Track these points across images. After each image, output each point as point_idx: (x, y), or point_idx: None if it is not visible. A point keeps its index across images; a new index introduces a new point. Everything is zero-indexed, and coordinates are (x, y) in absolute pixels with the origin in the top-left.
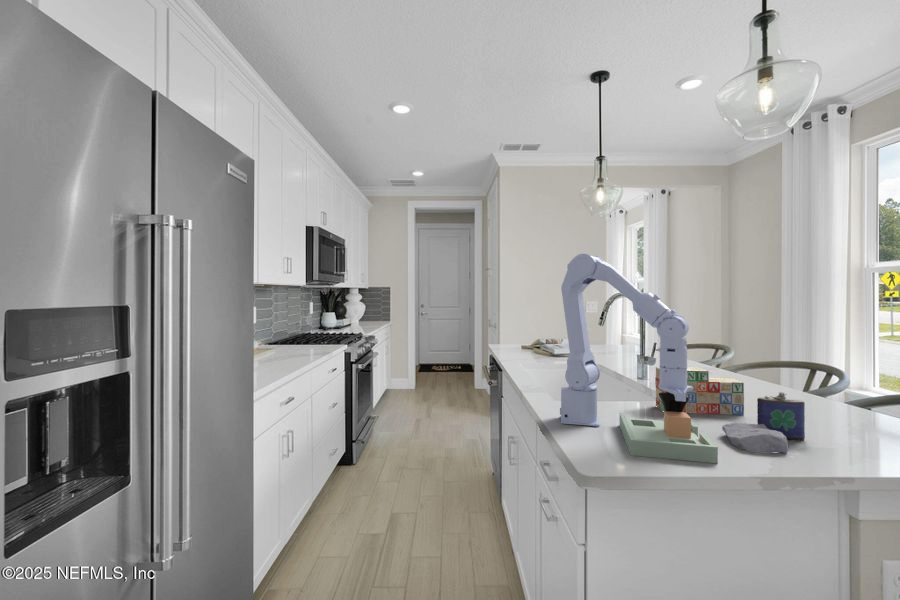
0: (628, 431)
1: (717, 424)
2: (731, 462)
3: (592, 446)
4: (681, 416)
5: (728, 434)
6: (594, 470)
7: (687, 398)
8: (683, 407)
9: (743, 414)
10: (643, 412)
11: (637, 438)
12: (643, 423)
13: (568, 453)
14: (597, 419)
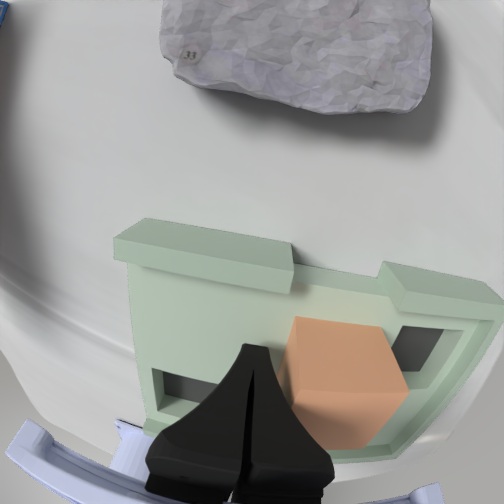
0: (337, 462)
1: (57, 71)
2: (487, 237)
3: None
4: (374, 418)
5: (303, 101)
6: (422, 456)
7: (328, 474)
8: (300, 423)
9: (7, 2)
10: (9, 285)
11: None
12: (158, 379)
13: (355, 478)
14: (141, 432)
